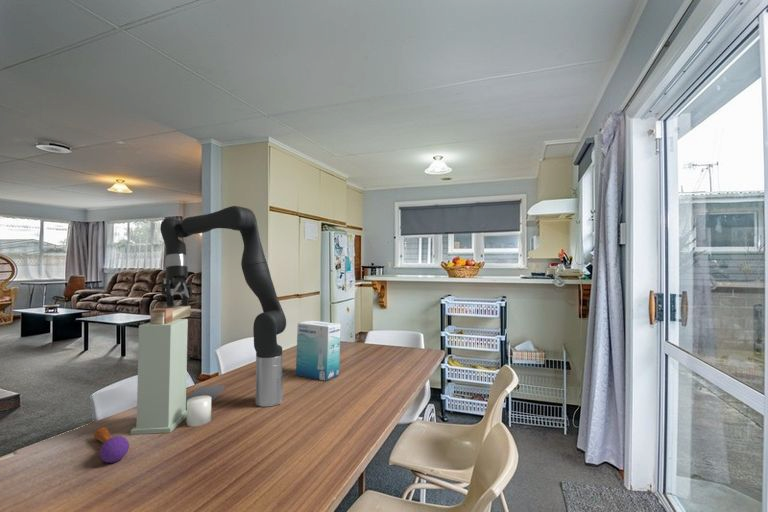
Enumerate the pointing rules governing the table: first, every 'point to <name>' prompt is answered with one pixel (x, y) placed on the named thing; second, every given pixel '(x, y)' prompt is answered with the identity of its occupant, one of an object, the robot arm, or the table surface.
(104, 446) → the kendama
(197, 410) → the white short cylinder
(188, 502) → the table surface
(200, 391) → the mat
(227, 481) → the table surface
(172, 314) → the catapult arm
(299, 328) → the toothbrush box
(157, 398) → the stand
